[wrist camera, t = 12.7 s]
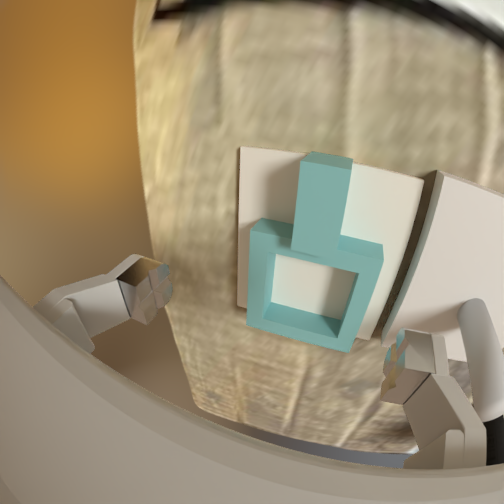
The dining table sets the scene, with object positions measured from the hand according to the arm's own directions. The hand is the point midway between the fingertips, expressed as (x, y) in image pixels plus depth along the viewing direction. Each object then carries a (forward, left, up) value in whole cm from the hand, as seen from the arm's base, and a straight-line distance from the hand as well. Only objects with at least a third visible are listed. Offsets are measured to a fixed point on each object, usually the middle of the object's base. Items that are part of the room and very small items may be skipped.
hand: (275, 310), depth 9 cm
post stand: (+5, +15, -14) cm, 21 cm away
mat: (+6, 0, -14) cm, 15 cm away
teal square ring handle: (+5, 0, -13) cm, 14 cm away
